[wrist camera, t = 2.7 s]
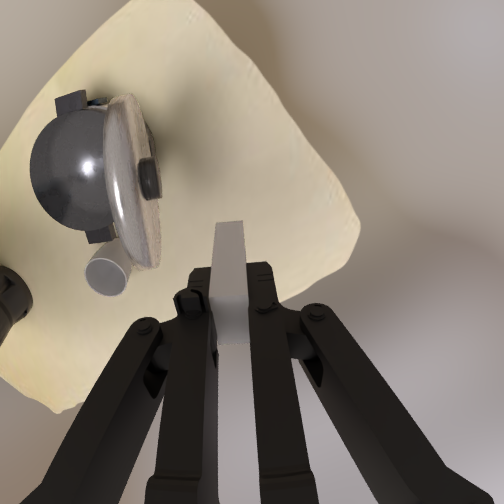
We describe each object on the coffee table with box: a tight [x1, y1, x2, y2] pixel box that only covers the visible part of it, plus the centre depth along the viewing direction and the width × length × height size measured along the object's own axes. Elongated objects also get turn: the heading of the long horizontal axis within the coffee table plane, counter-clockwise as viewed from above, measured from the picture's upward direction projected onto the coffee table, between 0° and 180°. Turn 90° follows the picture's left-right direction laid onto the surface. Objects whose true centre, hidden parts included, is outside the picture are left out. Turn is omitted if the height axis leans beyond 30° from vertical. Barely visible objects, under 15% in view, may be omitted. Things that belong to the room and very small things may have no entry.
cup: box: [84, 238, 132, 297], centre depth 53 cm, size 8×8×10 cm
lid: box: [103, 93, 162, 271], centre depth 30 cm, size 20×18×4 cm
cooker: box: [30, 90, 156, 244], centre depth 43 cm, size 20×23×12 cm
